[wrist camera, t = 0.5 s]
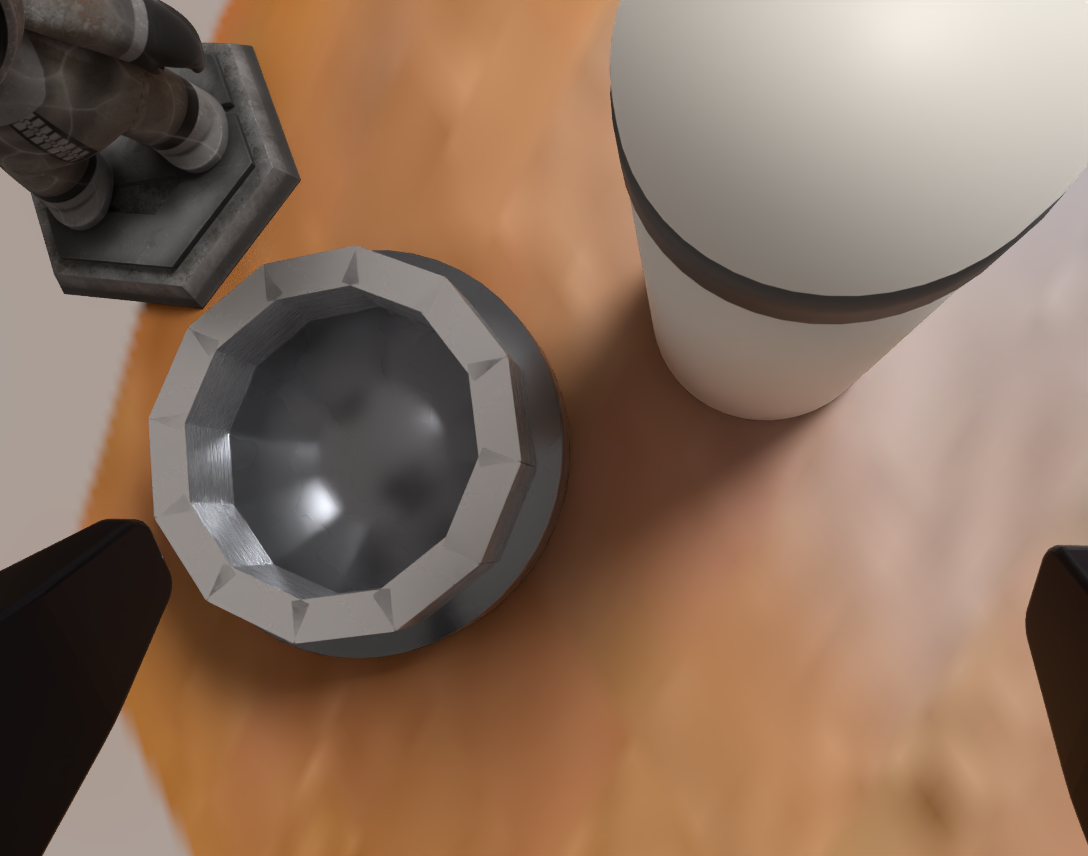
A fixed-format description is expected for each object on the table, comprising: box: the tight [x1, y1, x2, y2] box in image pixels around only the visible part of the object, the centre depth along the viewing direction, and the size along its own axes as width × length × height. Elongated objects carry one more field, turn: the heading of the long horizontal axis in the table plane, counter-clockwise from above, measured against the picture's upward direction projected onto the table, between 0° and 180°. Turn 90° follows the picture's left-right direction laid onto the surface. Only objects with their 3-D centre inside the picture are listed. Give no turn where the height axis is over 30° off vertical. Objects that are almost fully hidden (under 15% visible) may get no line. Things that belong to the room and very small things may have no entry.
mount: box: [149, 246, 570, 658], centre depth 21 cm, size 11×11×4 cm
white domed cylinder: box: [610, 0, 1088, 420], centre depth 16 cm, size 6×6×12 cm
